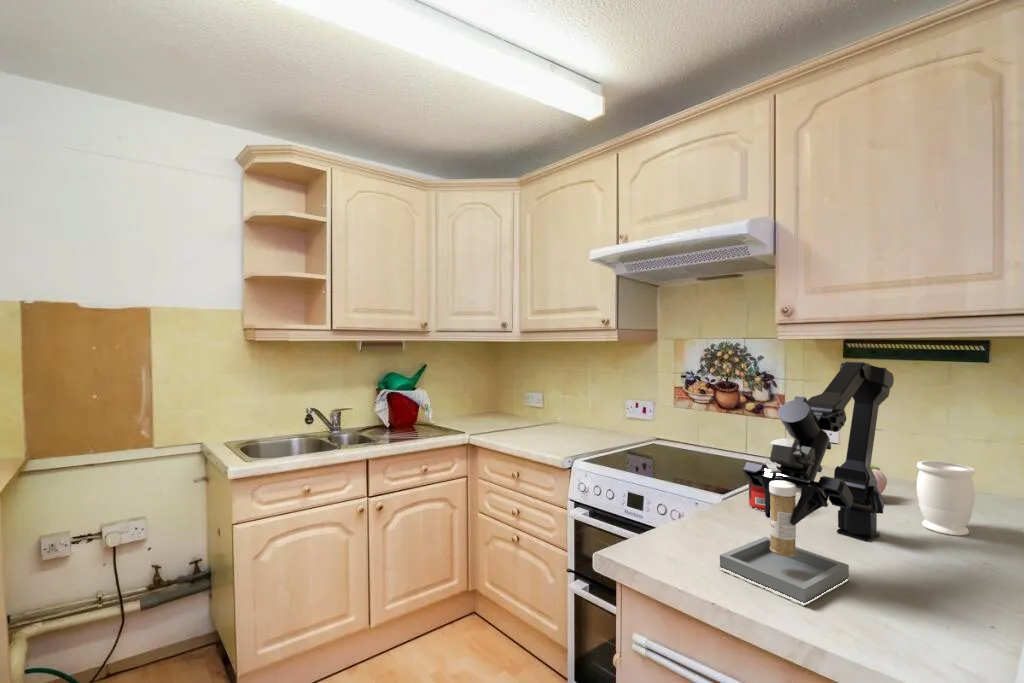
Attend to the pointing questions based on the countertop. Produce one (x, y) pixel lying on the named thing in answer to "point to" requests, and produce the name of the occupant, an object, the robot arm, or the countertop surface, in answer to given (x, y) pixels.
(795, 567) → the box
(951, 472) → the jar
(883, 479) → the decorative fruit
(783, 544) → the sprinkles bottle
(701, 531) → the countertop surface
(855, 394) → the robot arm
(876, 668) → the countertop surface
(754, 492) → the canned food
